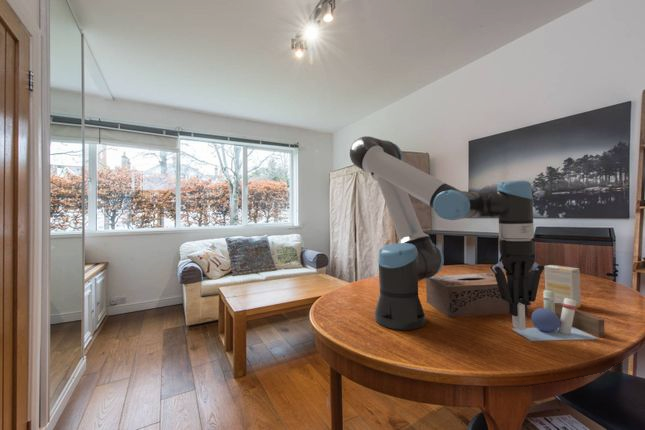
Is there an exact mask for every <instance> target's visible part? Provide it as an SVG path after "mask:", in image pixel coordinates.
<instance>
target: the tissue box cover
mask: <svg viewBox="0 0 645 430" xmlns="http://www.w3.org/2000/svg"><path fill="white" fill-rule="evenodd" d="M505 277H506V281H507V276H505ZM425 290H426V291H425V292H426V303H427V304H429V305H430V306H431V307H433V308H434V309H436V310H437V311H439V312H440V313H441V314H443V315H445V316H446V317H447V318H454V317H471V316H487V315H488V316H489V315H502V314H510V310H509V302H507V301H505V300H503V299H502V298H501V295H500V292H499V288H498V285H497V281H496V277H495V274H494V272H483V273H465V274H464V273H463V274H462V273H461V274H460V273H459V274H445V275H444V274H443V275H434V276H432V277H430V278H426V279H425Z"/></svg>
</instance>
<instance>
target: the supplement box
mask: <svg viewBox="0 0 645 430" xmlns="http://www.w3.org/2000/svg"><path fill="white" fill-rule="evenodd" d="M543 266H544V283H545V284H544V288H545V289H544V290H548V291H553V292H554V305H555V303H562V304H563V303H564V298H568V299H572V300H575V301H577V302H576V309H579V308H581V307H582V297H581V294H582V293H581V274H580V273H581V272H580V268H577V267H572V266H563V265H556V264H549V265H548V264H547V265H543Z"/></svg>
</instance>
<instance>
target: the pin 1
mask: <svg viewBox="0 0 645 430" xmlns="http://www.w3.org/2000/svg"><path fill="white" fill-rule="evenodd" d="M542 295H543V296H542V297H543V309H548V310H551V311H552V312H554V313H555V304H554V292H553V291H548V290H545V289H544V290H543V294H542Z"/></svg>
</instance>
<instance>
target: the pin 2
mask: <svg viewBox="0 0 645 430" xmlns="http://www.w3.org/2000/svg"><path fill="white" fill-rule="evenodd" d="M576 302H577V301H575V300H572V299H568V298H564V303H563V308H562V313H561V319H559V321H560V325H559V329H558V331H559V332H561V333H564V334H567V335H570V333H571V328H572V327H573V325H572V323H573V317H574V312H575V309H577V308H576Z"/></svg>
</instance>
